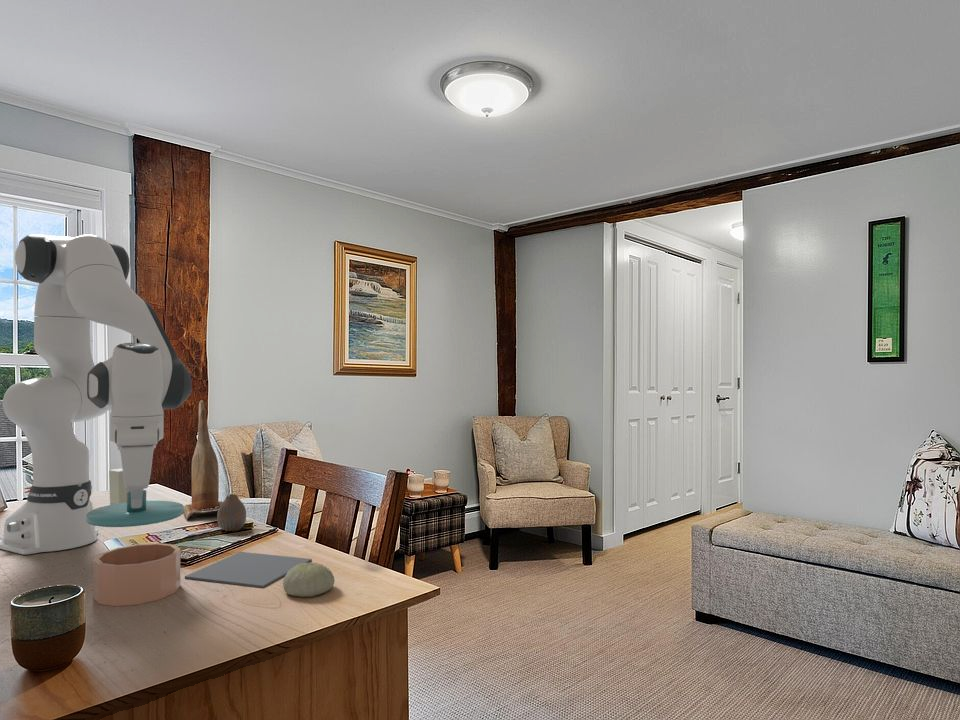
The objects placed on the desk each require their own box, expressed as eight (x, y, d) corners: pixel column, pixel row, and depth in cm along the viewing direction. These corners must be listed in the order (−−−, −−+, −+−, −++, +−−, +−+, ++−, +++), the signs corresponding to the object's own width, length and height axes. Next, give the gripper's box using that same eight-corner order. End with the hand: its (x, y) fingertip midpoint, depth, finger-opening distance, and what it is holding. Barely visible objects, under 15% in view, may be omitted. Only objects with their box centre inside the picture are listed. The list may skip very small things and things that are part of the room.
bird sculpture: (223, 509, 189) (221, 398, 190) (231, 516, 179) (229, 399, 180) (181, 514, 183) (179, 400, 184) (187, 522, 173) (184, 401, 174)
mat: (184, 578, 129) (184, 576, 129) (240, 553, 145) (240, 551, 145) (263, 587, 124) (263, 585, 124) (311, 560, 140) (311, 558, 140)
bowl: (76, 600, 117) (76, 561, 117) (137, 576, 130) (137, 541, 130) (138, 609, 113) (138, 569, 113) (195, 583, 126) (195, 546, 126)
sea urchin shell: (311, 593, 115) (289, 556, 118) (289, 618, 118) (268, 582, 121) (347, 578, 123) (325, 544, 126) (326, 602, 126) (305, 568, 129)
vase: (236, 534, 161) (236, 498, 161) (211, 532, 163) (211, 497, 162) (251, 526, 168) (251, 492, 168) (227, 525, 169) (227, 491, 169)
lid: (64, 522, 116) (64, 497, 116) (136, 502, 132) (136, 480, 132) (136, 530, 112) (136, 504, 112) (202, 509, 127) (202, 486, 127)
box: (135, 515, 180) (135, 469, 180) (119, 519, 176) (119, 471, 176) (124, 513, 182) (124, 467, 182) (108, 516, 179) (108, 469, 179)
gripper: (119, 425, 129) (118, 495, 129) (116, 437, 111) (115, 519, 111) (154, 424, 132) (154, 492, 132) (157, 436, 114) (157, 515, 114)
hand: (136, 504), depth 122 cm, fingers closed on lid, 3 cm apart
